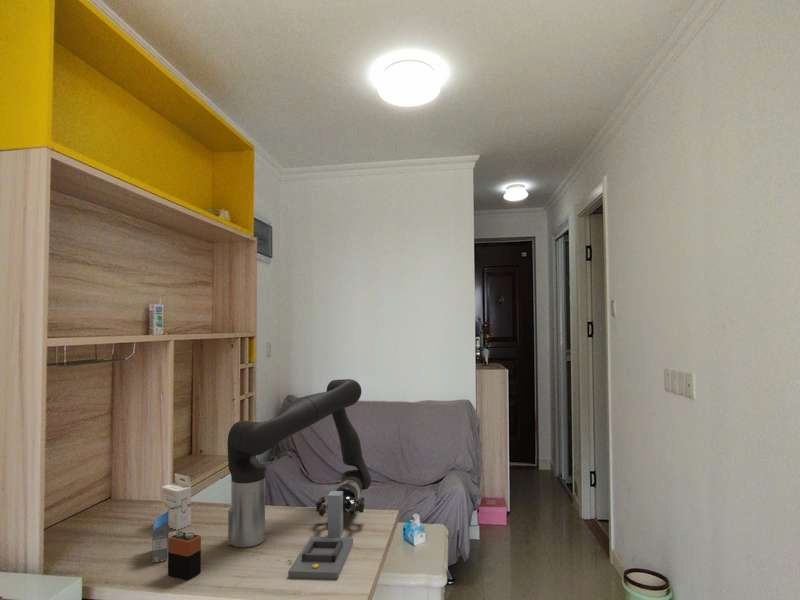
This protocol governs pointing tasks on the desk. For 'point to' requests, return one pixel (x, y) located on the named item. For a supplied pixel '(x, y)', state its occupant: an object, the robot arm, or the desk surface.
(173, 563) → the battery
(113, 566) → the desk surface
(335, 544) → the power dock
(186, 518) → the ink cartridge box
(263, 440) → the robot arm
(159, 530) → the label tape cartridge
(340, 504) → the plug
